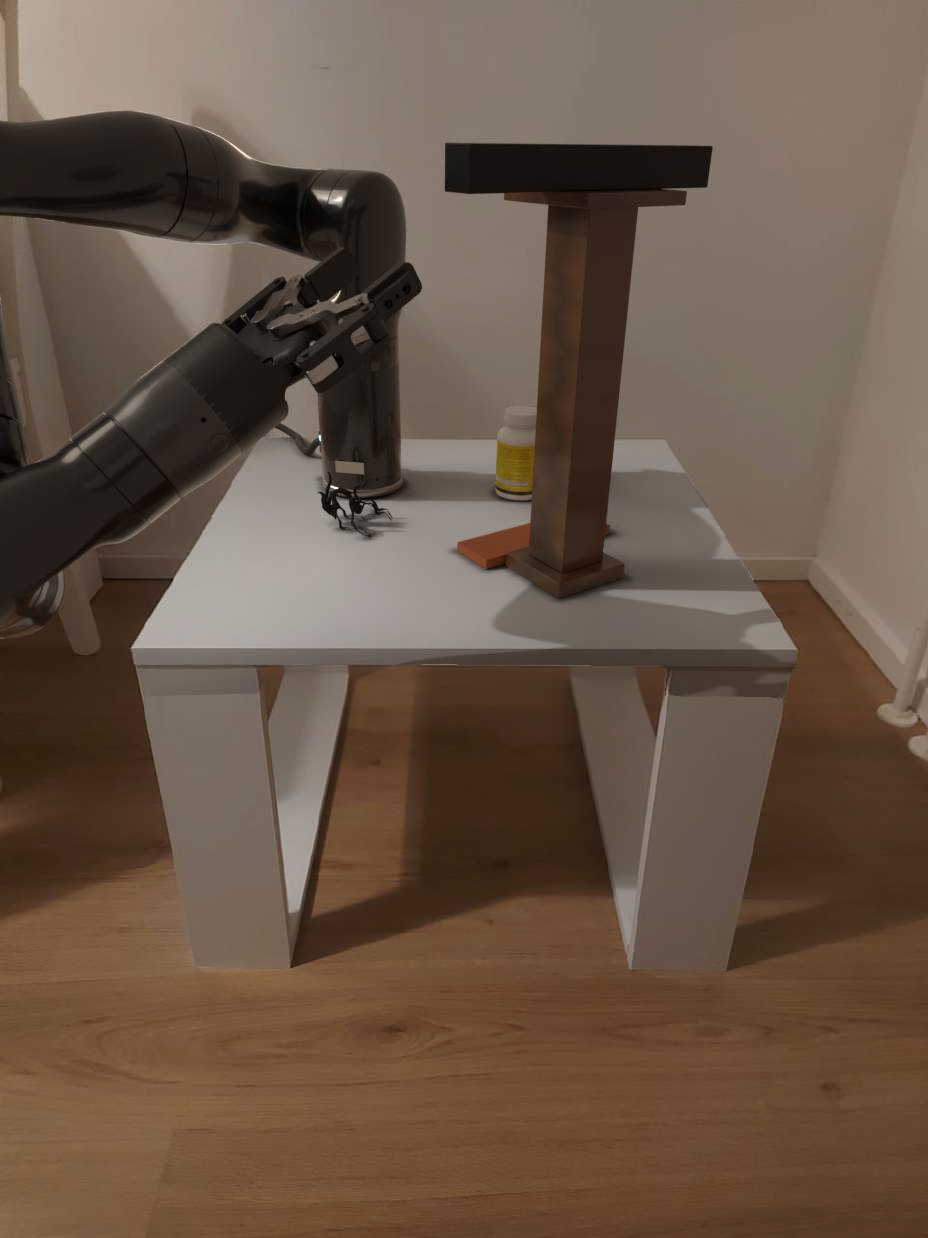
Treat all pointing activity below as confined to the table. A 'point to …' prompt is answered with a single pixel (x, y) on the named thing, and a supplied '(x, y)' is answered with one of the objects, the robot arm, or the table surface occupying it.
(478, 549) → the wooden plank
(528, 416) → the supplement bottle
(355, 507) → the creature
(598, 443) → the plant stand
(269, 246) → the robot arm
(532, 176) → the handle bar
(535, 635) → the table surface
